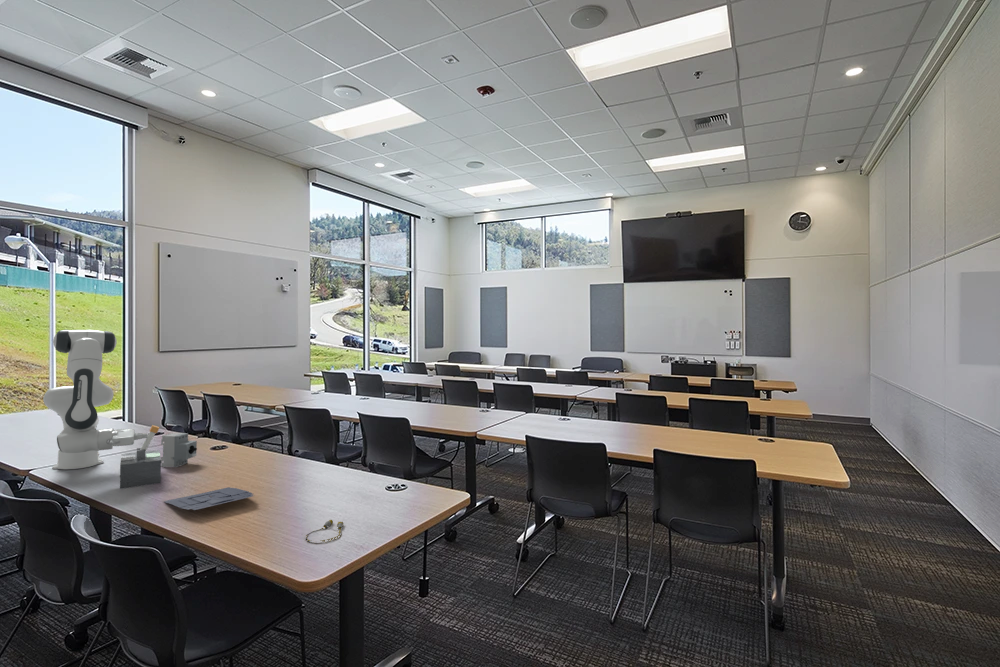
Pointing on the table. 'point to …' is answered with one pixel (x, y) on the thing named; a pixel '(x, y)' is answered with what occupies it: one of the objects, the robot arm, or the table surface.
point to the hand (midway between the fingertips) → (147, 435)
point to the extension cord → (330, 524)
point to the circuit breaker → (177, 449)
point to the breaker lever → (149, 437)
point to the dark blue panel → (210, 498)
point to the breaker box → (140, 468)
